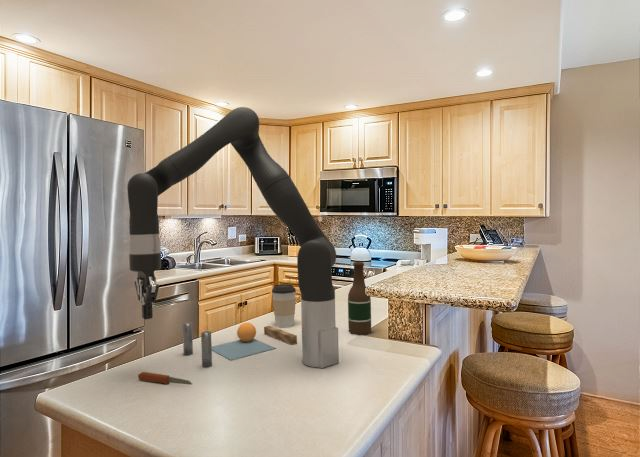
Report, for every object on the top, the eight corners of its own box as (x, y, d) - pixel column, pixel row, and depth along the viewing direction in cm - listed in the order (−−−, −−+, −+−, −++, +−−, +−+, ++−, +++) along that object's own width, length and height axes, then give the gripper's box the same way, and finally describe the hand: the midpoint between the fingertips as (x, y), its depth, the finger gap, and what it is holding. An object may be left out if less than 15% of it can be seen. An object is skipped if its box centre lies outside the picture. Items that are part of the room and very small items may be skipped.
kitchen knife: (137, 380, 97) (137, 372, 97) (141, 378, 98) (141, 370, 98) (190, 389, 91) (189, 380, 91) (193, 386, 93) (193, 378, 93)
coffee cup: (298, 321, 150) (297, 282, 150) (294, 328, 141) (293, 286, 141) (275, 321, 151) (274, 282, 150) (270, 328, 142) (269, 286, 141)
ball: (262, 327, 127) (249, 323, 123) (256, 345, 126) (242, 342, 122) (250, 322, 131) (237, 319, 127) (244, 339, 130) (230, 337, 126)
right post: (213, 365, 106) (212, 332, 105) (204, 368, 104) (203, 334, 104) (209, 363, 108) (208, 330, 107) (200, 365, 106) (199, 332, 106)
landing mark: (276, 348, 119) (276, 347, 119) (230, 360, 109) (230, 359, 109) (250, 337, 130) (250, 337, 130) (207, 348, 121) (207, 347, 121)
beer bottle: (370, 335, 130) (369, 263, 129) (347, 335, 131) (345, 263, 131) (372, 329, 137) (370, 260, 137) (350, 328, 139) (348, 260, 138)
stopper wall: (296, 343, 123) (296, 335, 123) (291, 344, 122) (291, 336, 122) (269, 333, 136) (269, 325, 136) (264, 334, 134) (264, 326, 134)
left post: (194, 353, 116) (193, 323, 116) (185, 355, 114) (184, 325, 114) (190, 351, 118) (190, 321, 118) (182, 353, 116) (181, 323, 116)
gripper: (168, 252, 99) (170, 320, 99) (152, 249, 109) (154, 312, 110) (137, 254, 94) (139, 326, 95) (122, 251, 104) (125, 316, 105)
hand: (147, 318), depth 102 cm, fingers closed
